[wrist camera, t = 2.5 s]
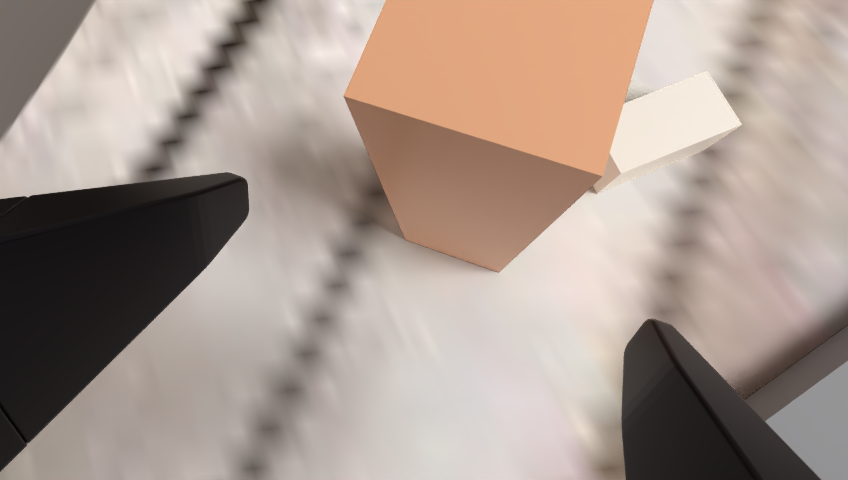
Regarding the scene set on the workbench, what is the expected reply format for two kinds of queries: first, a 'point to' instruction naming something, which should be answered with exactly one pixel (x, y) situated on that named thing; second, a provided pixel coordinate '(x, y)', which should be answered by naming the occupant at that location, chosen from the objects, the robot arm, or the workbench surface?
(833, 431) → the charcoal board
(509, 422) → the workbench surface
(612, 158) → the off-white brick
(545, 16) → the terracotta brick
